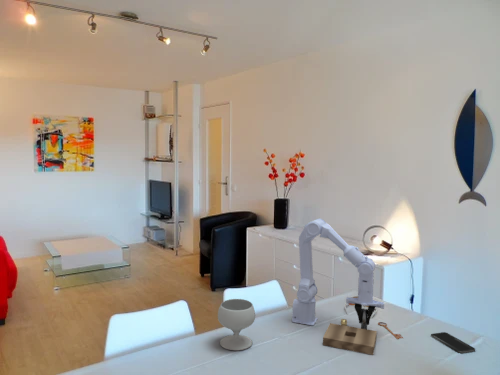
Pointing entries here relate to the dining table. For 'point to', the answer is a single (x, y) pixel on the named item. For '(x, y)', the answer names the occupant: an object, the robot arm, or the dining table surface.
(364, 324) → the long pin
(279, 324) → the dining table surface
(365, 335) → the hole block
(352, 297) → the sunglasses
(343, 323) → the short pin
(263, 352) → the dining table surface
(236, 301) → the chalice
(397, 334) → the key
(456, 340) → the phone
